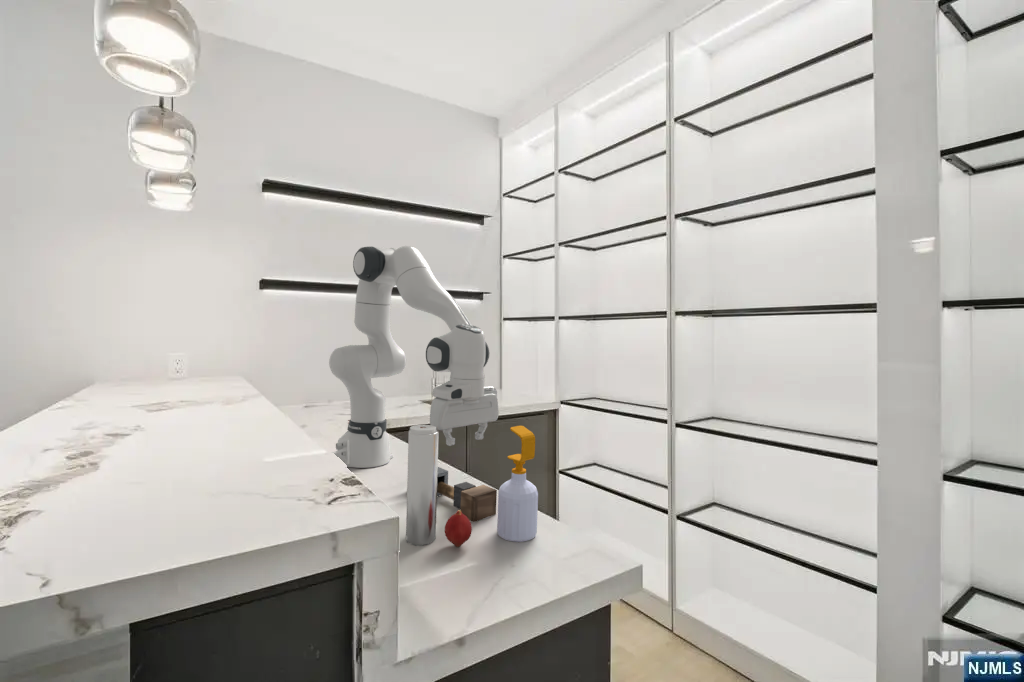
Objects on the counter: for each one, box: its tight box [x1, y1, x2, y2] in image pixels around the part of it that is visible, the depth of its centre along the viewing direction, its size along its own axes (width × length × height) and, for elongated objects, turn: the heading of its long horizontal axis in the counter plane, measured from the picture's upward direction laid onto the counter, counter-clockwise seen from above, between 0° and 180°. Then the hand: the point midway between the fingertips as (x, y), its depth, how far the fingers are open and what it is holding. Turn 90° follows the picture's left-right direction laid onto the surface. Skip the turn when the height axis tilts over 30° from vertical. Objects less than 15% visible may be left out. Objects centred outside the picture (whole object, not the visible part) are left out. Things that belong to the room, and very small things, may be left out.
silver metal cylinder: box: [405, 424, 440, 546], centre depth 105 cm, size 6×6×25 cm
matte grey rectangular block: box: [437, 466, 449, 497], centre depth 134 cm, size 9×6×6 cm
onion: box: [444, 509, 473, 548], centre depth 103 cm, size 6×6×8 cm
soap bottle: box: [496, 425, 539, 543], centre depth 109 cm, size 9×9×25 cm
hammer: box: [437, 481, 477, 510], centre depth 125 cm, size 17×4×6 cm, turn 45°
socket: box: [461, 484, 498, 523], centre depth 119 cm, size 5×7×6 cm
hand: (465, 442), depth 123 cm, fingers open, 8 cm apart
